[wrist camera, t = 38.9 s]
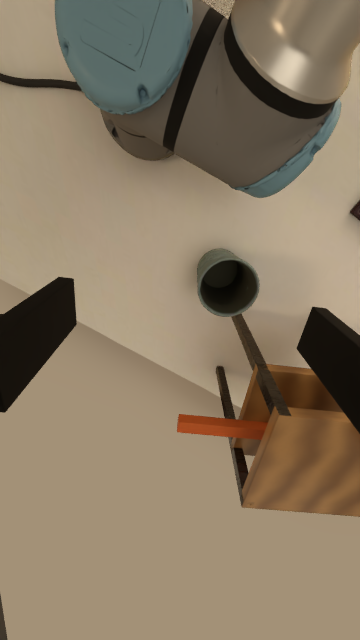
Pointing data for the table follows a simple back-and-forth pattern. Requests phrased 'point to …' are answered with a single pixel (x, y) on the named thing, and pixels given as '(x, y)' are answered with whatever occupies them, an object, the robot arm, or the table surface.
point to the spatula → (221, 427)
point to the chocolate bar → (356, 210)
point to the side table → (293, 440)
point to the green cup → (226, 283)
